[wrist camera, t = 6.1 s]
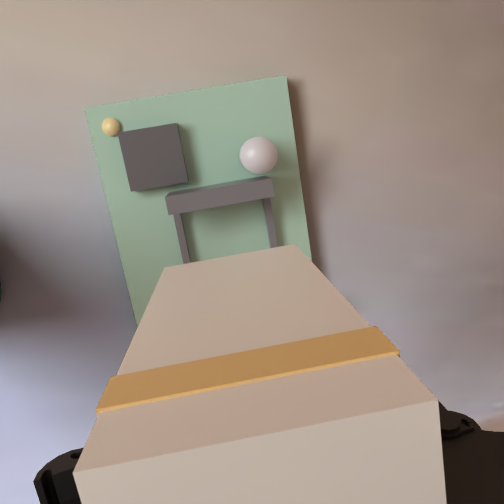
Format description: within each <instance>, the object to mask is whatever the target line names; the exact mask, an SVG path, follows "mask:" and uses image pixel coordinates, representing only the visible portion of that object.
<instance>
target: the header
mask: <svg viewBox="0 0 504 504" xmlns="http://www.w3.org/2000/svg"><path fill="white" fill-rule="evenodd" d="M270 197H274V190H273V184H272V178H270V177H268V176H266V175H265V176H259V177H254V178H248V179H242V180H237V181H231V182H225V183H219V184H214V185H208V186H202V187H196V188H191V189H185V190H179V191H173V192H169V193H168V194H167V195H166V196H165V201H166V206H167V211H168V215H173V216H174V221H175V226H176V231H177V235H178V240H179V245H180V250H181V255H182V259H183V264H187V263H191V259H190V254H189V249H188V244H187V239H186V234H185V229H184V225H183V220H182V215H181V213H184V212H190V211H196V210H201V209H207V208H213V207H218V206H224V205H230V204H235V203H241V202H247V201H252V200H258V199H262V200H263V207H264V213H265V219H266V225H267V231H268V238H269V244H270V248H275V247H278V245H277V238H276V232H275V225H274V219H273V213H272V206H271V200H270Z"/></svg>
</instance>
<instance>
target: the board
mask: <svg viewBox="0 0 504 504" xmlns="http://www.w3.org/2000/svg"><path fill="white" fill-rule="evenodd" d="M84 110H85V114H86V118H87V122H88V126H89V130H90V134H91V138H92V143H93V147H94V151H95V155H96V159H97V163H98V167H99V171H100V176H101V180H102V184H103V188H104V192H105V196H106V200H107V204H108V209H109V213H110V217H111V221H112V225H113V229H114V233H115V238H116V242H117V246H118V250H119V254H120V258H121V262H122V266H123V271H124V275H125V279H126V283H127V287H128V291H129V295H130V299H131V304H132V308H133V312H134V316H135V320H136V324H137V328H138V325H139V323H140V321H141V319H142V317H143V314H144V312H145V310H146V308H147V305H148V303H149V301H150V299H151V296H152V294H153V292H154V290H155V287H156V285H157V283H158V281H159V278H160V276H161V274H162V272H163V270H164V268H165V267H170V266H176V265H181V264H183V259H182V255H181V250H180V245H179V240H178V235H177V231H176V226H175V221H174V216H173V215H168V211H167V206H166V201H165V196H166V195H167V194H168V193H169V192H173V191H179V190H185V189H191V188H196V187H202V186H208V185H214V184H219V183H225V182H231V181H237V180H242V179H248V178H254V177H259V176H265V175H266V176H268V177H270V178H272V184H273V190H274V197H270V200H271V206H272V213H273V219H274V225H275V232H276V238H277V245H278V247H280V246H286V245H291V244H296V245H297V246H298V247H299V248H300V249H301V251H302V252H303V253H304V254H305V255H306V256H307V257H308V258H309V259H310V260H311V262H312V258H311V251H310V244H309V236H308V229H307V222H306V215H305V208H304V200H303V193H302V186H301V179H300V172H299V164H298V157H297V150H296V143H295V136H294V129H293V121H292V114H291V107H290V100H289V93H288V85H287V78H286V75H283V76H277V77H271V78H265V79H258V80H252V81H246V82H240V83H234V84H228V85H222V86H216V87H210V88H204V89H197V90H191V91H185V92H179V93H173V94H167V95H161V96H155V97H149V98H143V99H136V100H130V101H124V102H118V103H112V104H106V105H100V106H94V107H88V108H84ZM181 215H182V220H183V225H184V229H185V234H186V239H187V244H188V249H189V254H190V259H191V263H192V262H198V261H203V260H209V259H214V258H220V257H225V256H231V255H236V254H242V253H247V252H253V251H258V250H264V249H269V248H270V244H269V238H268V231H267V225H266V219H265V213H264V207H263V200H262V199H258V200H252V201H247V202H241V203H235V204H230V205H224V206H218V207H213V208H207V209H201V210H196V211H190V212H184V213H181Z"/></svg>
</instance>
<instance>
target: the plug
mask: <svg viewBox="0 0 504 504" xmlns="http://www.w3.org/2000/svg"><path fill="white" fill-rule="evenodd" d="M96 413H97V416H98V417H97V419H96V422H95V424H94V426H93V428H92V431H91V433H90V435H89V437H88V440H87V442H86V444H85V446H84V449H83V451H82V453H81V455H80V458H79V460H78V462H77V464H76V466H75V469H74V471H73V476H74V479H75V483H76V486H77V490H78V493H79V496H80V500H81V503H82V504H447V502H446V489H445V477H444V465H443V453H442V441H441V428H440V416H439V404H438V399H437V398H436V397H435V396H434V395H433V394H432V393H431V391H430V390H429V389H428V388H427V387H426V386H425V385H424V384H423V383H422V382H421V381H420V379H419V378H418V377H417V376H416V375H415V374H414V373H413V372H412V371H411V370H410V369H409V367H408V366H407V365H406V364H405V363H404V362H403V361H402V360H401V359H400V353H399V350H398V349H397V348H396V347H395V346H394V344H393V343H392V342H391V341H390V340H389V339H388V338H387V337H386V336H385V335H384V334H383V333H382V332H381V331H380V330H379V329H378V328H377V327H376V326H373V327H371V326H370V325H369V324H368V323H367V322H366V320H365V319H364V318H363V317H362V316H361V315H360V314H359V313H358V312H357V311H356V310H355V308H354V307H353V306H352V305H351V304H350V303H349V302H348V301H347V300H346V299H345V298H344V296H343V295H342V294H341V293H340V292H339V291H338V290H337V289H336V288H335V287H334V286H333V284H332V283H331V282H330V281H329V280H328V279H327V278H326V277H325V276H324V275H323V274H322V272H321V271H320V270H319V269H318V268H317V267H316V266H315V265H314V264H313V263H312V262H311V260H310V259H309V258H308V257H307V256H306V255H305V254H304V253H303V252H302V251H301V249H300V248H299V247H298V246H297V245H296V244H291V245H286V246H280V247H275V248H269V249H264V250H258V251H253V252H247V253H242V254H236V255H231V256H225V257H220V258H214V259H209V260H203V261H198V262H192V263H187V264H181V265H176V266H170V267H165V268H164V270H163V272H162V274H161V276H160V278H159V281H158V283H157V285H156V287H155V290H154V292H153V294H152V296H151V299H150V301H149V303H148V305H147V308H146V310H145V312H144V314H143V317H142V319H141V321H140V323H139V325H138V328H137V330H136V332H135V334H134V337H133V339H132V341H131V343H130V346H129V348H128V350H127V352H126V355H125V357H124V359H123V361H122V364H121V366H120V368H119V370H118V372H117V375H116V376H112V377H111V378H110V380H109V382H108V384H107V386H106V389H105V391H104V393H103V395H102V397H101V399H100V401H99V404H98V406H97V408H96Z"/></svg>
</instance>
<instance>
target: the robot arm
mask: <svg viewBox="0 0 504 504" xmlns="http://www.w3.org/2000/svg"><path fill="white" fill-rule="evenodd" d="M438 404H439V416H440V428H441V441H442V453H443V465H444V477H445V489H446V502H447V504H504V432H493V431H484V430H481V428H480V426H479V425H478V424H477V423H476V422H475V421H474V420H473V419H471V418H470V417H468V416H466V415H464V414H461V413H457V412H453V411H448V410H447V409H446V408H445V407H444V406H443V405H442V404H441V403H440V402H439V401H438ZM83 449H84V448H81V449H76V450H71V451H69V452H67V453H64V454H62V455H60V456H58V457H56V458H55V459H53V460H52V461H50V462H49V463H47V464H46V465H45V466H44V467H43V468H42V469H41V470H40V471H39V472H38V473H37V475H36V477H35V479H34V481H33V482H34V485H35V488H36V491H37V494H38V497H39V501H40V504H82V503H81V500H80V496H79V493H78V490H77V486H76V483H75V479H74V476H73V471H74V469H75V466H76V464H77V462H78V460H79V458H80V455H81V453H82V451H83Z"/></svg>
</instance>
